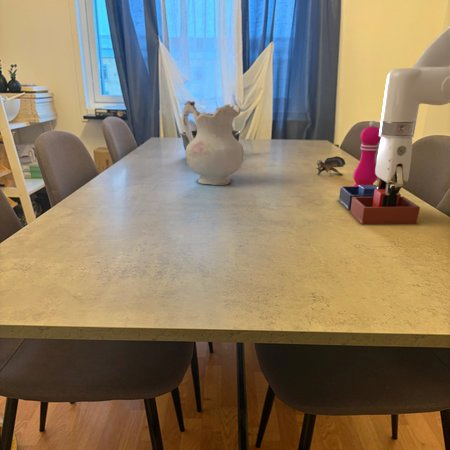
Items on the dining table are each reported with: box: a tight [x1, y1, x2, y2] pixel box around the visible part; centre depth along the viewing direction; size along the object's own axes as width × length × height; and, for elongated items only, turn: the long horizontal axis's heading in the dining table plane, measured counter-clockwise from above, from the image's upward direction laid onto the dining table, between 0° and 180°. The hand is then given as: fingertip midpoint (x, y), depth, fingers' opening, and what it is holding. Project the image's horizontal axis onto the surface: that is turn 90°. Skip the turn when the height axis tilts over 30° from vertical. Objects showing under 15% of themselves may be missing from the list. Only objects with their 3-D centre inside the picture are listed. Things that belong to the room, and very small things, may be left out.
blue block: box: [358, 184, 377, 195], centre depth 117 cm, size 4×4×4 cm
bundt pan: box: [180, 129, 241, 152], centre depth 191 cm, size 26×26×10 cm
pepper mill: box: [352, 120, 381, 186], centre depth 129 cm, size 7×7×20 cm
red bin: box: [349, 195, 421, 225], centre depth 107 cm, size 13×10×4 cm
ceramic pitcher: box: [181, 100, 245, 186], centre depth 141 cm, size 22×20×25 cm
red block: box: [372, 189, 399, 207], centre depth 106 cm, size 4×4×4 cm
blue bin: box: [338, 185, 402, 212], centre depth 117 cm, size 13×10×4 cm
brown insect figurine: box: [315, 155, 347, 177], centre depth 153 cm, size 8×7×9 cm
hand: (384, 207), depth 106 cm, fingers closed on red block, 4 cm apart
